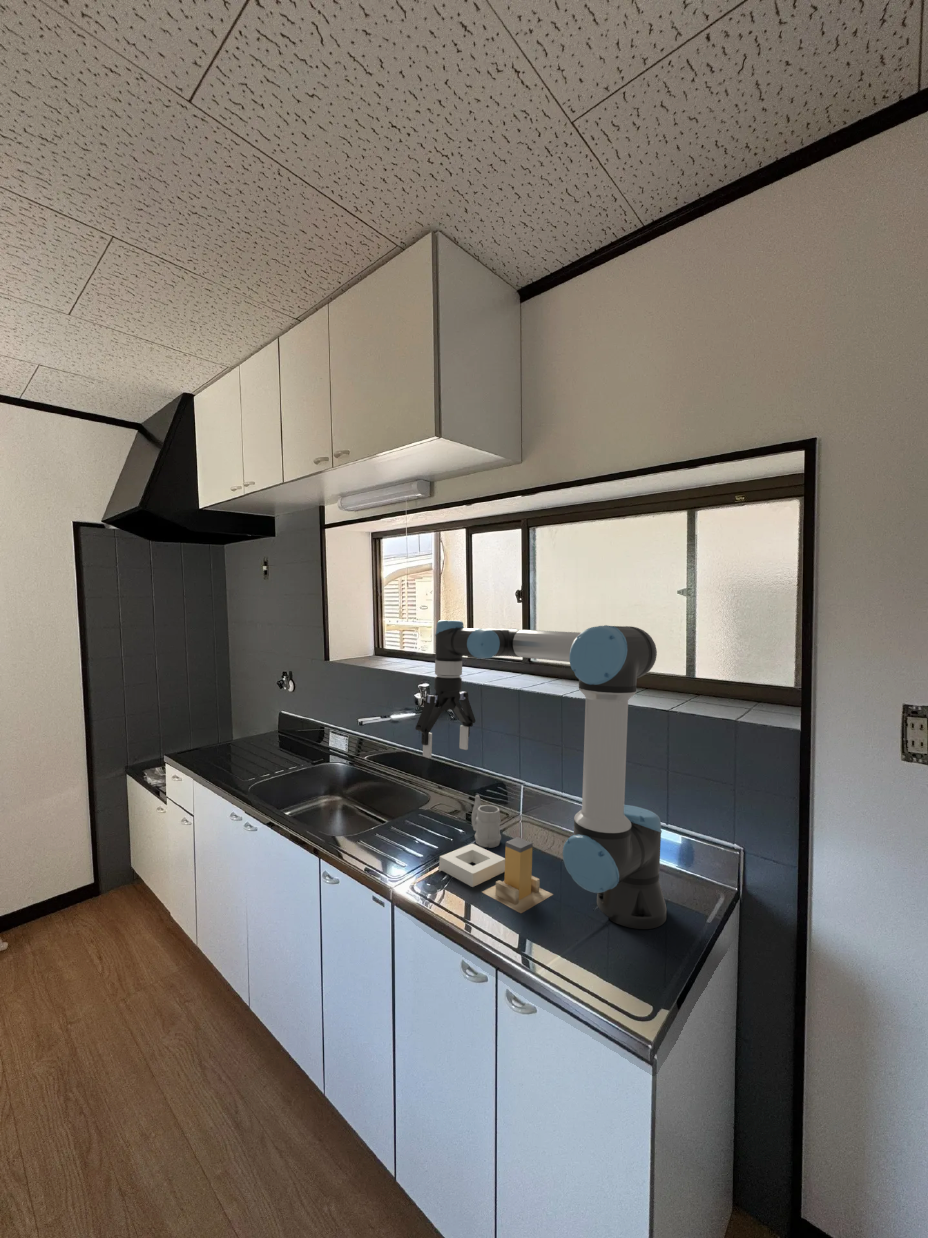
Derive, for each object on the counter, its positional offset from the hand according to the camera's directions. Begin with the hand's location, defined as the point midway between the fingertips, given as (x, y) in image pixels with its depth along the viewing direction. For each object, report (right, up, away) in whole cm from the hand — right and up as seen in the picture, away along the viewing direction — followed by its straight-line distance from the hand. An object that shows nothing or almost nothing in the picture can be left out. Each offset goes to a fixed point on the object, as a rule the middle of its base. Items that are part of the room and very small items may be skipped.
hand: (445, 753), depth 146 cm
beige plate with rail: (+18, -29, -21) cm, 40 cm away
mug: (+11, -29, +10) cm, 32 cm away
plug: (+18, -28, -21) cm, 39 cm away
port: (+7, -28, -10) cm, 31 cm away
